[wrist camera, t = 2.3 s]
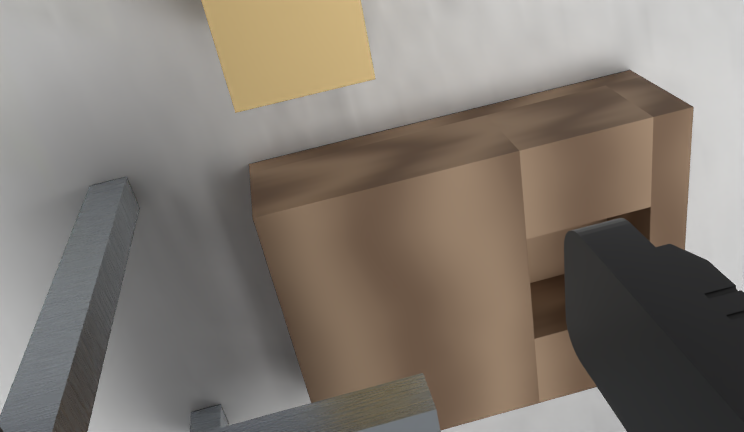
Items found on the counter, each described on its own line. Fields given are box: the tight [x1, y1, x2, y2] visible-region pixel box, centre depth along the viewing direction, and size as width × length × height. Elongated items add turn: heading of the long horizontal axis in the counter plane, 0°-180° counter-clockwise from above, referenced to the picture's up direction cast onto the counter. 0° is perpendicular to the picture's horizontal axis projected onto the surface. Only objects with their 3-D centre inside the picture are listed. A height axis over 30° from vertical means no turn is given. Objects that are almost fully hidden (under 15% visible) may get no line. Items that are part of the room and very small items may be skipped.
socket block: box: [249, 70, 693, 430], centre depth 33 cm, size 18×14×5 cm
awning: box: [0, 177, 441, 432], centre depth 26 cm, size 11×16×18 cm
